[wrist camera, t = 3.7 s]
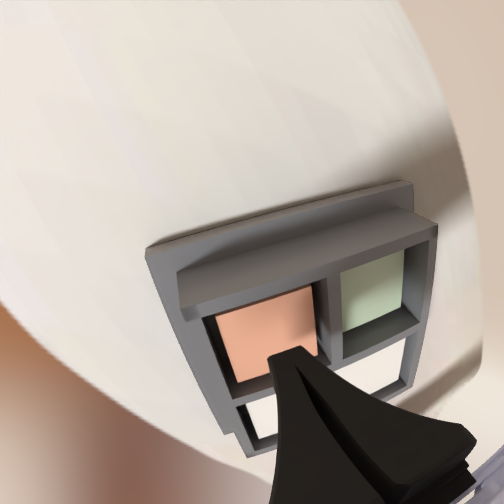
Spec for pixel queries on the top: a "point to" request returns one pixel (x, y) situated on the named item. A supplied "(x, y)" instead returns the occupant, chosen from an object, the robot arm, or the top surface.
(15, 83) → the top surface
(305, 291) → the terracotta key
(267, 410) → the space bar
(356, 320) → the green key
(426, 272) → the grey compartment tray
